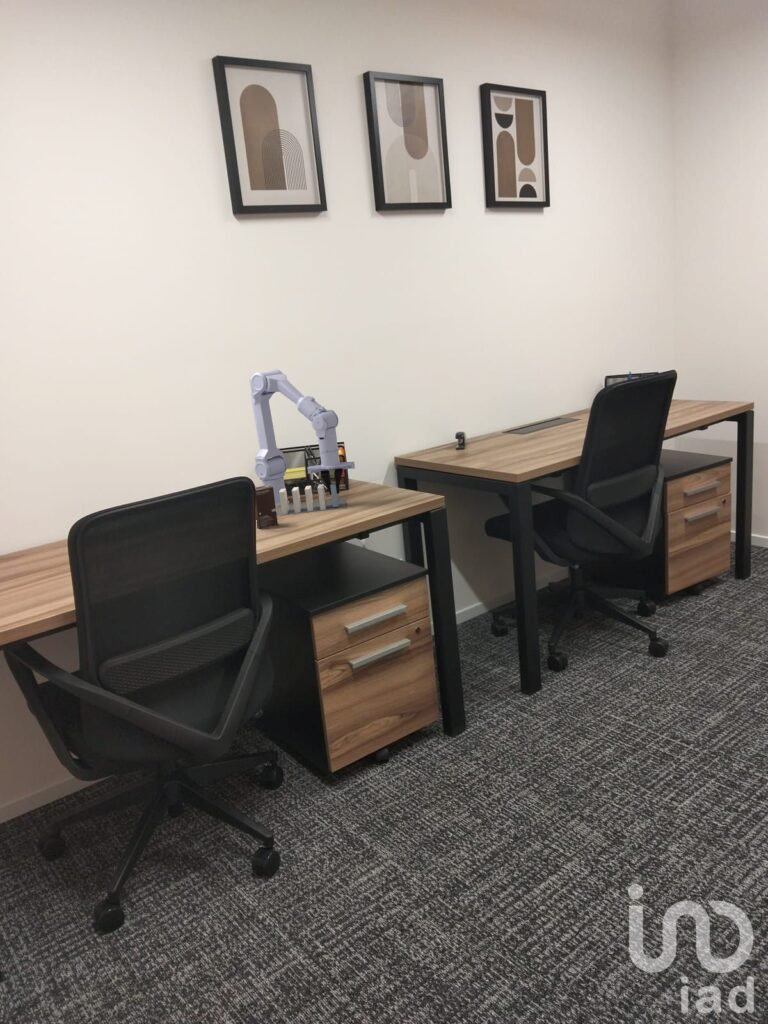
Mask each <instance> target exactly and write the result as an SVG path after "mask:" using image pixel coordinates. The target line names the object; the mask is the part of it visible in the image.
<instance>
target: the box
mask: <svg viewBox="0 0 768 1024" xmlns="http://www.w3.org/2000/svg"><path fill="white" fill-rule="evenodd" d="M255 488H256V520H257V528H256V529H257V530H264V529H268V528H272V527H275V526H278V525H279V523H278V516H277V508H276V505H275V497H274V489H273V487H272V486H268V485H266V486H263V485H261V486H257V487H255Z"/></svg>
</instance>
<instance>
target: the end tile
mask: <svg viewBox="0 0 768 1024" xmlns="http://www.w3.org/2000/svg"><path fill="white" fill-rule="evenodd" d="M330 482H331V484H330V487H331V495H330V496H331V499H332V502H333V507H338V506H339V494H337V491H336V481H330Z"/></svg>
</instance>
